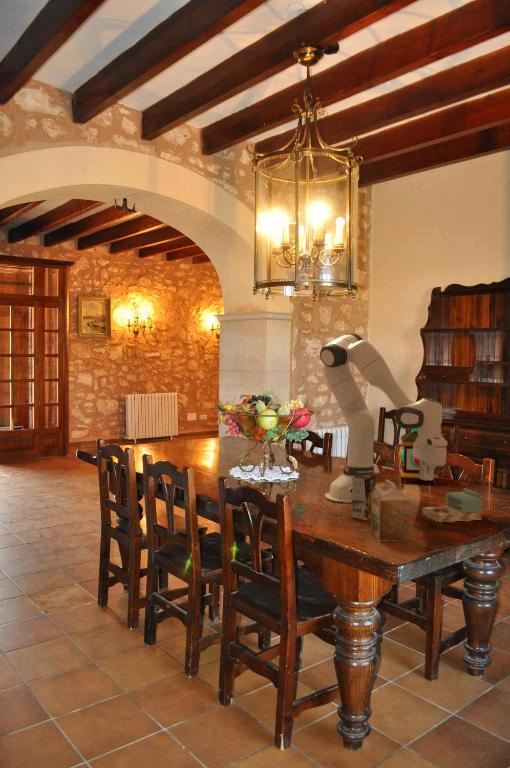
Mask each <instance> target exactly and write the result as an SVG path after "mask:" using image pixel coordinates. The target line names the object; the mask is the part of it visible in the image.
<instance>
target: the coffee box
mask: <svg viewBox="0 0 510 768" xmlns="http://www.w3.org/2000/svg"><path fill="white" fill-rule="evenodd" d="M376 478H377V477H376V474H374V475H369V474H360V475H357V476H355V477H353V482H352V502H351V518H352V517H354V518H360V519H366V520H367V519H369V518H370V519H371V493H372V492H373V491H374V490H375V489H376V483H377V481H376ZM370 519H369V520H370ZM367 521H368V520H367Z"/></svg>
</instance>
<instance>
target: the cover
mask: <svg viewBox="0 0 510 768" xmlns="http://www.w3.org/2000/svg"><path fill="white" fill-rule="evenodd" d="M481 495H482V494H481V493H479V492H476V491H474V490H471V489H468V488H462V491H454V492H446V493H445V506H454V505H461V512H462V513H468V512H481V513H482V512H483V511H482V510H483V509H482V508H483V498H481Z"/></svg>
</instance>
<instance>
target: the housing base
mask: <svg viewBox="0 0 510 768" xmlns="http://www.w3.org/2000/svg"><path fill="white" fill-rule="evenodd" d="M482 514H483V513H482V512H468V513H462V512H461V505H452V506H447V505H442V506H441V505H440V506H423V507H422V515H423V516H424V515H425V516H424V517H426V516H427V517H426V518H428V517H429V518H428V519H430V518H431V519H433V520H435V521H437V522H440V523H439V524H442V523H441V522H451V523H456V522H455V521H466V522H473V521H472V520H481V521H482V516H483V515H482ZM431 519H430V520H431ZM433 520H432V521H433ZM435 521H434V522H435ZM437 522H436V523H437Z"/></svg>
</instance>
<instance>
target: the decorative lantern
mask: <svg viewBox="0 0 510 768" xmlns="http://www.w3.org/2000/svg"><path fill="white" fill-rule="evenodd" d="M417 437H418V428H413V429H410V431H409V432H407V433H403V435H401V437H400V441H401V443H402V445H401V446H402V448H400V449H399V450H398V453H397V457H398V459H399V460H401V467H400V469H399V477H400V476H401V477H400V481H401V484H403V485H404V484H405V480H407V479H408V480H409V479H410V480H411V479H412V480H421V479H420V478H419V471H420V460H419V459H417V458H414V457H413V445H414V442H415V441H416V438H417ZM426 463H427V462H426ZM429 464H430V463H429ZM436 468H437V467H436ZM436 468H435V470H434V475H433V480H432V481H434V485H435V486H438V485H439V477H438V474H437V469H436Z"/></svg>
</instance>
